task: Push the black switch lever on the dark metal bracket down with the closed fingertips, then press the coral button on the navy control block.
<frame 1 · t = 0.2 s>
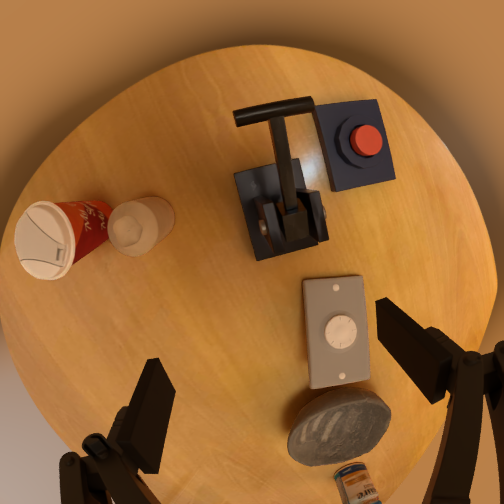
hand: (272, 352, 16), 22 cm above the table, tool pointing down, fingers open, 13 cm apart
paper cup: (98, 221, 34), on the table
control block: (353, 144, 34), on the table
light switch: (329, 318, 40), on the table
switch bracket: (276, 209, 35), on the table
candle: (154, 217, 35), on the table
beverage bottle: (349, 470, 51), on the table
bowl: (329, 408, 44), on the table
power button: (366, 140, 30), point 4 cm above the table, slide at 0.1 cm
switch lever: (285, 173, 23), point 12 cm above the table, hinge at 24.0°
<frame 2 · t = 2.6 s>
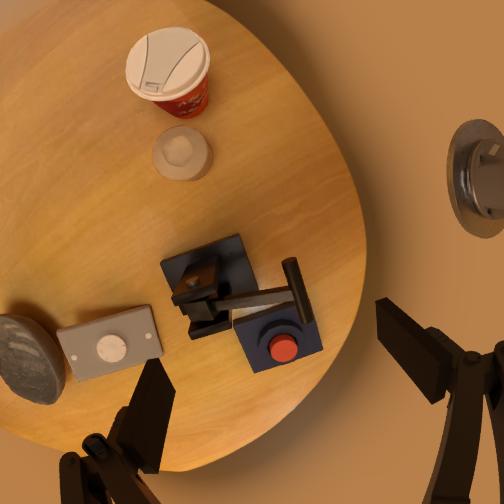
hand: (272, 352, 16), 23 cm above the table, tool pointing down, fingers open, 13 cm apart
paper cup: (187, 99, 33), on the table
control block: (278, 333, 41), on the table
light switch: (119, 331, 40), on the table
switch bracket: (209, 274, 38), on the table
candle: (191, 159, 35), on the table
bowl: (39, 343, 39), on the table
power button: (283, 347, 37), point 4 cm above the table, slide at 0.1 cm
switch lever: (243, 300, 27), point 12 cm above the table, hinge at 24.0°
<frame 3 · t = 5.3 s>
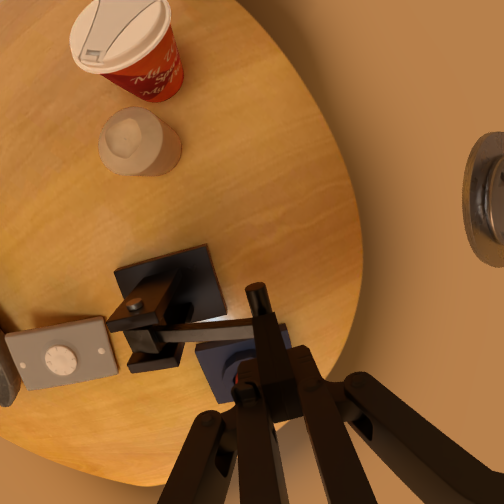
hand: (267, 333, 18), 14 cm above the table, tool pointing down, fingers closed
paper cup: (159, 79, 26), on the table
control block: (249, 363, 34), on the table
light switch: (73, 341, 33), on the table
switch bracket: (170, 289, 31), on the table
candle: (157, 150, 28), on the table
power button: (251, 382, 30), point 4 cm above the table, slide at 0.1 cm
switch lever: (195, 332, 20), point 11 cm above the table, hinge at 17.3°
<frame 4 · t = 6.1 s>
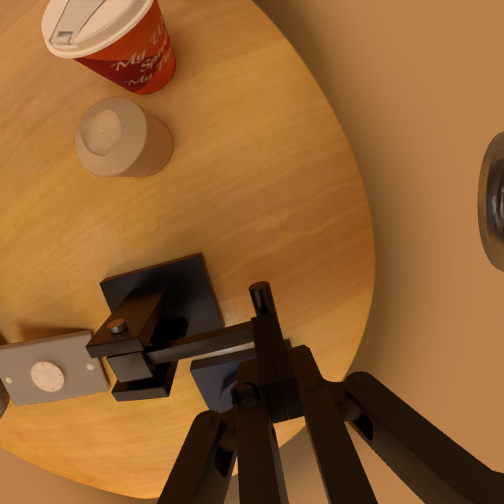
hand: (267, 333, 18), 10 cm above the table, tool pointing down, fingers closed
paper cup: (149, 69, 22), on the table
control block: (249, 381, 31), on the table
light switch: (62, 354, 29), on the table
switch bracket: (162, 303, 28), on the table
candle: (146, 148, 24), on the table
switch lever: (192, 346, 18), point 10 cm above the table, hinge at -3.5°, touching gripper
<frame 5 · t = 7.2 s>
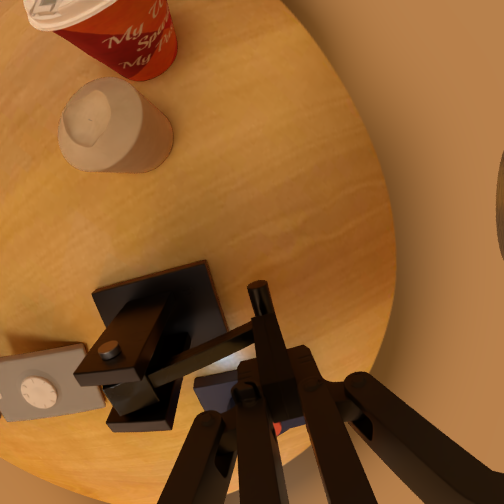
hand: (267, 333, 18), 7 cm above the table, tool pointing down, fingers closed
paper cup: (147, 54, 19), on the table
control block: (258, 398, 28), on the table
light switch: (54, 367, 26), on the table
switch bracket: (161, 315, 25), on the table
candle: (142, 140, 21), on the table
power button: (261, 424, 24), point 4 cm above the table, slide at 0.1 cm
switch lever: (195, 358, 17), point 8 cm above the table, hinge at -24.5°, touching gripper
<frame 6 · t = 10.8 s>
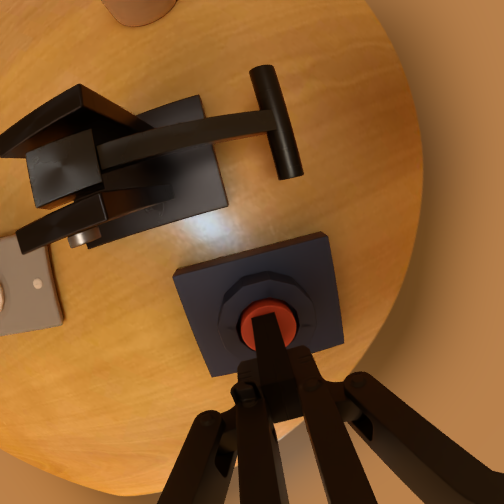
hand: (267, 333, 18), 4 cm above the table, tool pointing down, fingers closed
control block: (263, 305, 22), on the table
light switch: (11, 276, 20), on the table
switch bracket: (141, 173, 19), on the table
candle: (145, 4, 15), on the table
power button: (267, 324, 19), point 3 cm above the table, slide at -0.8 cm, touching gripper
switch lever: (171, 139, 11), point 8 cm above the table, hinge at -24.5°
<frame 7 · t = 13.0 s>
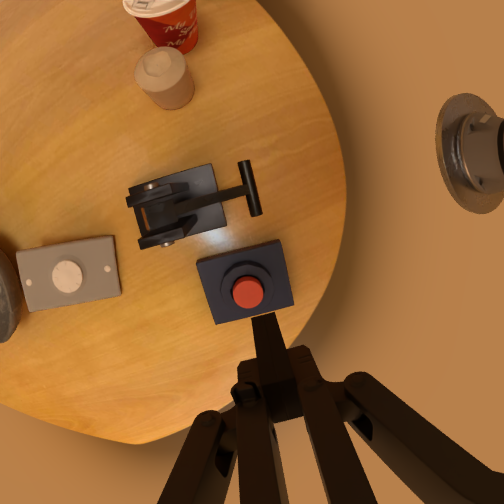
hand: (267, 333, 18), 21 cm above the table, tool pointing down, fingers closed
paper cup: (178, 40, 30), on the table
control block: (246, 281, 39), on the table
light switch: (80, 265, 37), on the table
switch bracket: (177, 205, 36), on the table
candle: (174, 91, 32), on the table
bowl: (3, 279, 36), on the table
power button: (247, 292, 35), point 4 cm above the table, slide at 0.1 cm
switch lever: (203, 201, 28), point 8 cm above the table, hinge at -24.5°
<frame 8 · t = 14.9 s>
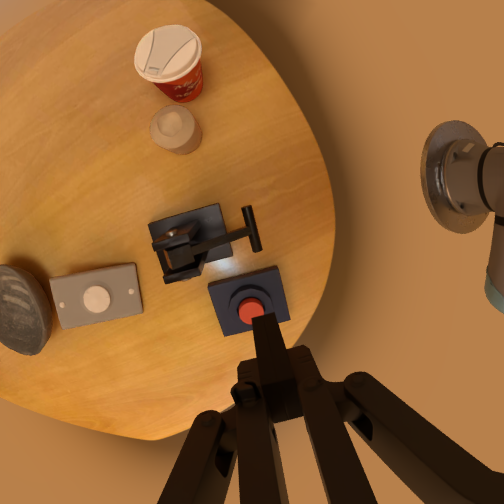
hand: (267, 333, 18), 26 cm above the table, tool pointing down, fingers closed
paper cup: (184, 86, 37), on the table
control block: (249, 300, 46), on the table
light switch: (106, 287, 44), on the table
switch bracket: (190, 238, 43), on the table
candle: (183, 136, 39), on the table
bowl: (31, 297, 43), on the table
power button: (251, 310, 42), point 4 cm above the table, slide at 0.1 cm
switch lever: (214, 242, 35), point 8 cm above the table, hinge at -24.5°
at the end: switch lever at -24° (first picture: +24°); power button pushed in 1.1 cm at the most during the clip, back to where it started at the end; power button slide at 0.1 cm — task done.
